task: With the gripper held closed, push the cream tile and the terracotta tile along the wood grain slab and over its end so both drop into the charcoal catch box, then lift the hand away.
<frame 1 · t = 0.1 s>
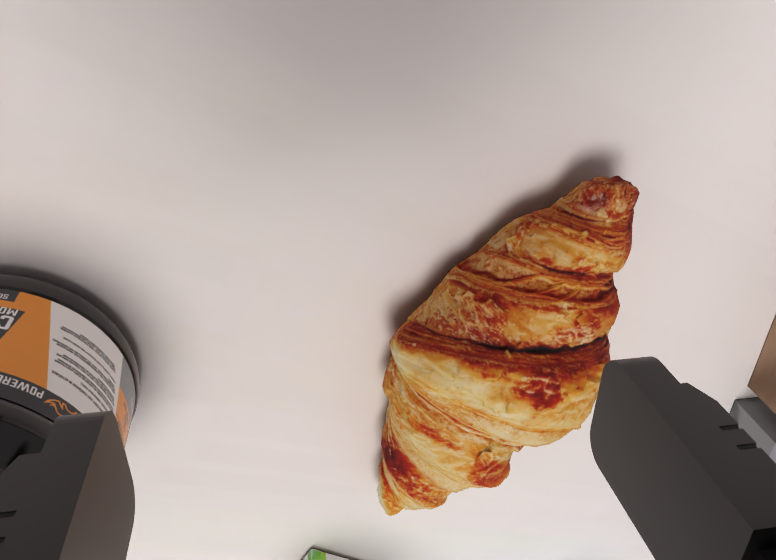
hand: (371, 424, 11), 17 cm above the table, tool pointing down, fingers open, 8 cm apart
croissant: (471, 337, 33), on the table
supplement container: (21, 361, 29), on the table
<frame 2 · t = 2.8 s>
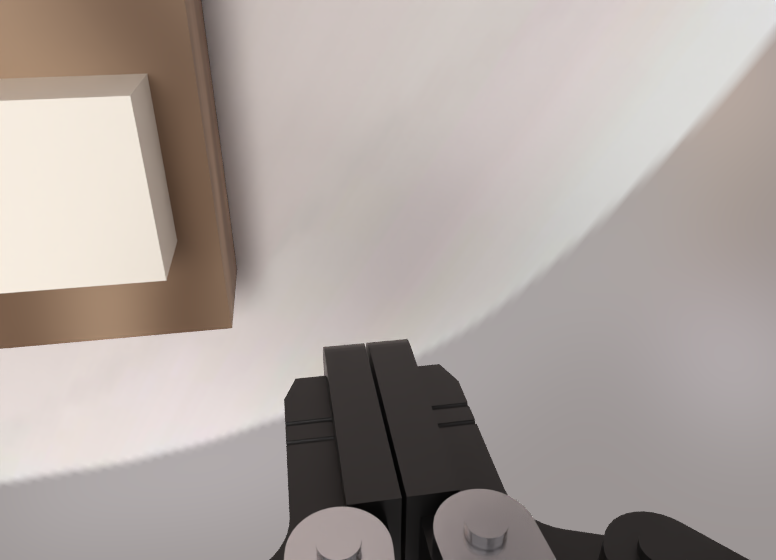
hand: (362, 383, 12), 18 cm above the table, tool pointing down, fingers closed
cream tile: (71, 167, 22), point 5 cm above the table, touching wood grain slab
wood grain slab: (11, 130, 26), on the table
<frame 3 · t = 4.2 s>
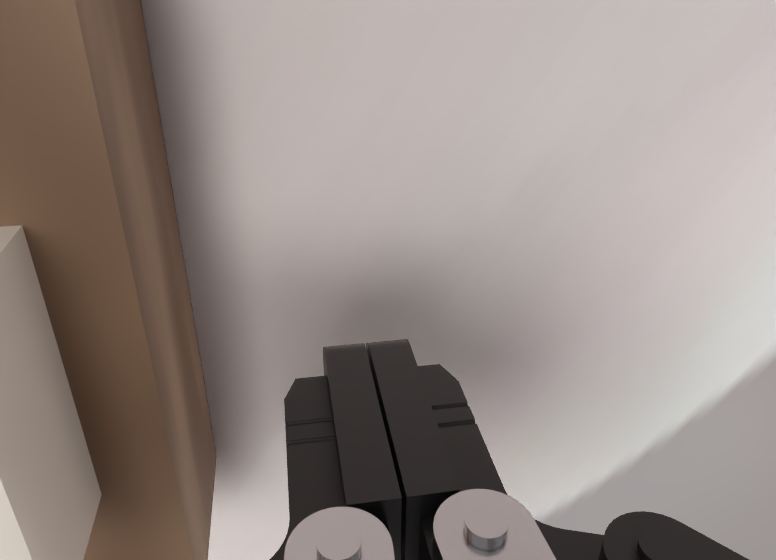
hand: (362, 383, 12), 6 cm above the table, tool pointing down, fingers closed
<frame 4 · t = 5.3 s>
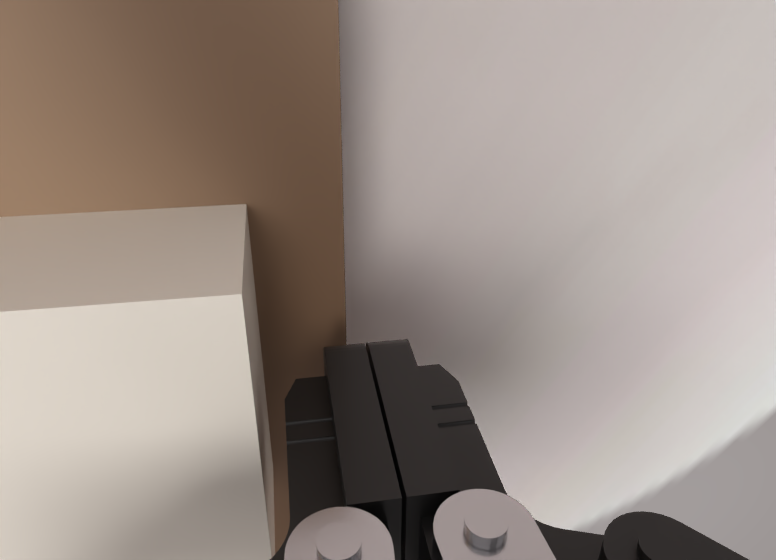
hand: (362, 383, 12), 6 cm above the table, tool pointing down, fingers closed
cream tile: (93, 366, 12), point 5 cm above the table, touching gripper, wood grain slab
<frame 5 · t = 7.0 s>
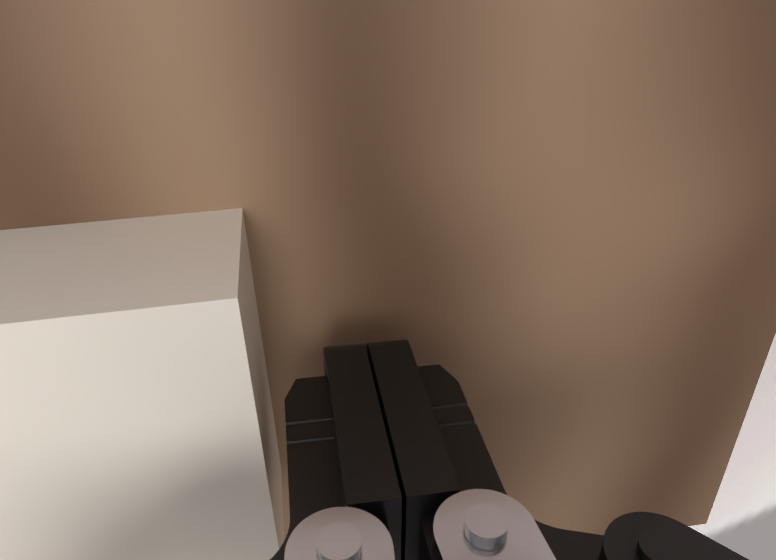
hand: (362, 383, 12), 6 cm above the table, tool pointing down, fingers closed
cream tile: (99, 373, 12), point 5 cm above the table, touching gripper
wood grain slab: (384, 227, 17), on the table
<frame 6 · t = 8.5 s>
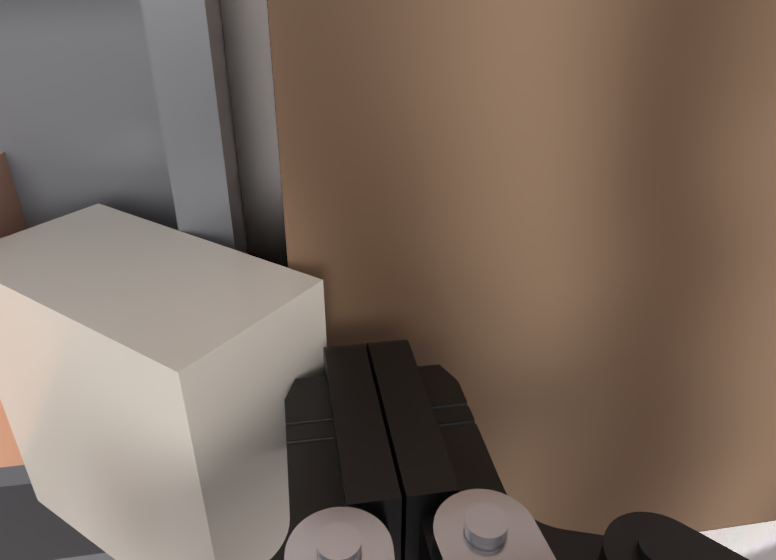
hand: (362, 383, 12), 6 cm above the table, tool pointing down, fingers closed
cream tile: (217, 367, 13), point 4 cm above the table, tilted 43°, touching catch box, gripper, terracotta tile
wood grain slab: (578, 221, 18), on the table
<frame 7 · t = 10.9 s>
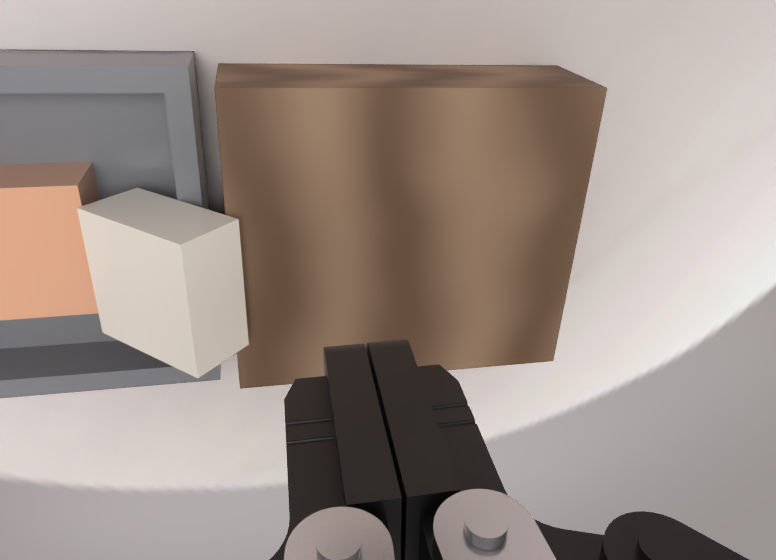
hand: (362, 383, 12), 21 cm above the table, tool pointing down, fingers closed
cream tile: (193, 266, 28), point 4 cm above the table, tilted 43°, touching catch box, terracotta tile
wood grain slab: (390, 205, 33), on the table
catch box: (54, 217, 30), on the table
terracotta tile: (14, 256, 27), point 4 cm above the table, tilted 180°, touching catch box, cream tile
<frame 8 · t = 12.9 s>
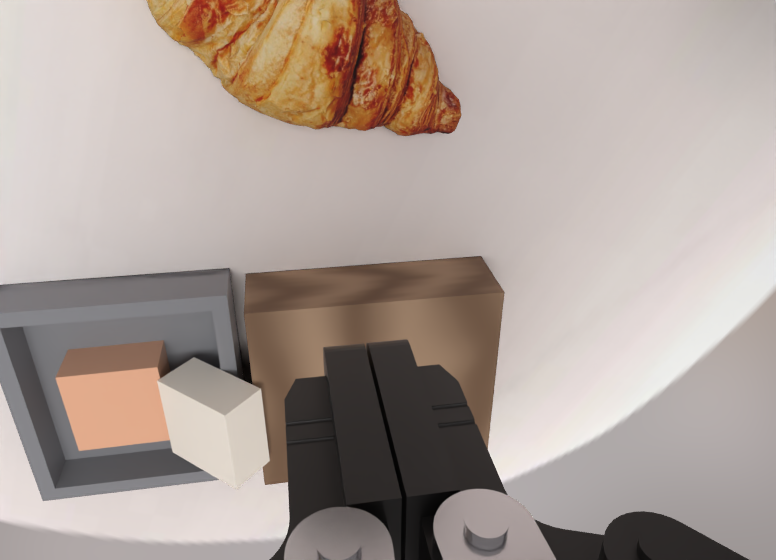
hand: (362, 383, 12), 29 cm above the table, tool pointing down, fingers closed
cream tile: (231, 409, 43), point 4 cm above the table, tilted 43°, touching catch box, terracotta tile
croissant: (292, 12, 36), on the table
wood grain slab: (367, 350, 47), on the table
catch box: (138, 371, 45), on the table
terracotta tile: (117, 410, 41), point 4 cm above the table, tilted 180°, touching catch box, cream tile
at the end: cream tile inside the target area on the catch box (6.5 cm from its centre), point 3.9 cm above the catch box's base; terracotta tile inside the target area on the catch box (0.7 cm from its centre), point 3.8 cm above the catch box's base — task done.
